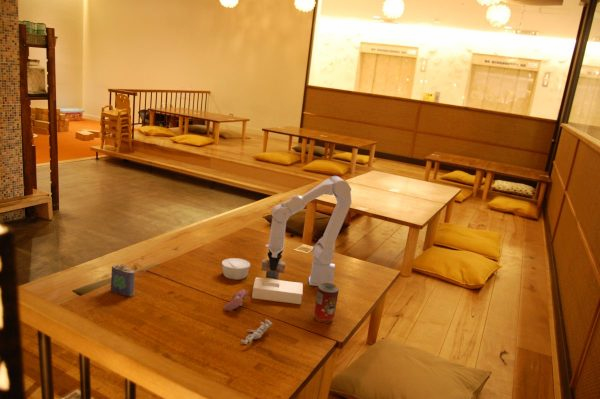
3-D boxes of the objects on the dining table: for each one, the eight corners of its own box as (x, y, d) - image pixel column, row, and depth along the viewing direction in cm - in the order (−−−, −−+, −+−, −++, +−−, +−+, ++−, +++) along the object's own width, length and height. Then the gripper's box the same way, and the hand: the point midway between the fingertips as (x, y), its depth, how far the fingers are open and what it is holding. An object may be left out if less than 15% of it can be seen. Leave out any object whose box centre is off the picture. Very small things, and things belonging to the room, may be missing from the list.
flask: (135, 295, 162) (136, 266, 160) (129, 298, 160) (130, 268, 157) (113, 288, 166) (115, 259, 163) (107, 291, 163) (108, 262, 160)
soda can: (323, 325, 159) (329, 291, 156) (309, 316, 164) (314, 283, 161) (338, 320, 164) (343, 287, 161) (323, 312, 169) (328, 280, 166)
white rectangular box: (301, 292, 182) (302, 283, 181) (301, 304, 173) (302, 294, 172) (254, 286, 182) (255, 277, 181) (251, 298, 172) (253, 287, 171)
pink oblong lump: (232, 317, 160) (243, 302, 158) (222, 309, 160) (232, 293, 158) (241, 305, 169) (252, 290, 167) (231, 297, 170) (241, 282, 168)
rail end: (283, 277, 190) (285, 261, 189) (283, 280, 187) (285, 264, 186) (261, 274, 190) (263, 259, 189) (260, 277, 187) (262, 262, 185)
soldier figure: (234, 343, 143) (254, 317, 153) (245, 354, 144) (264, 328, 153) (249, 335, 139) (268, 309, 148) (260, 347, 139) (278, 320, 148)
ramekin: (215, 276, 187) (216, 263, 186) (229, 267, 198) (231, 255, 196) (240, 283, 184) (241, 270, 182) (253, 274, 194) (254, 262, 193)
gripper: (268, 229, 192) (264, 260, 195) (265, 240, 177) (261, 274, 181) (285, 231, 192) (281, 262, 195) (284, 242, 178) (280, 276, 181)
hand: (273, 268), depth 188 cm, fingers closed on rail end, 3 cm apart
